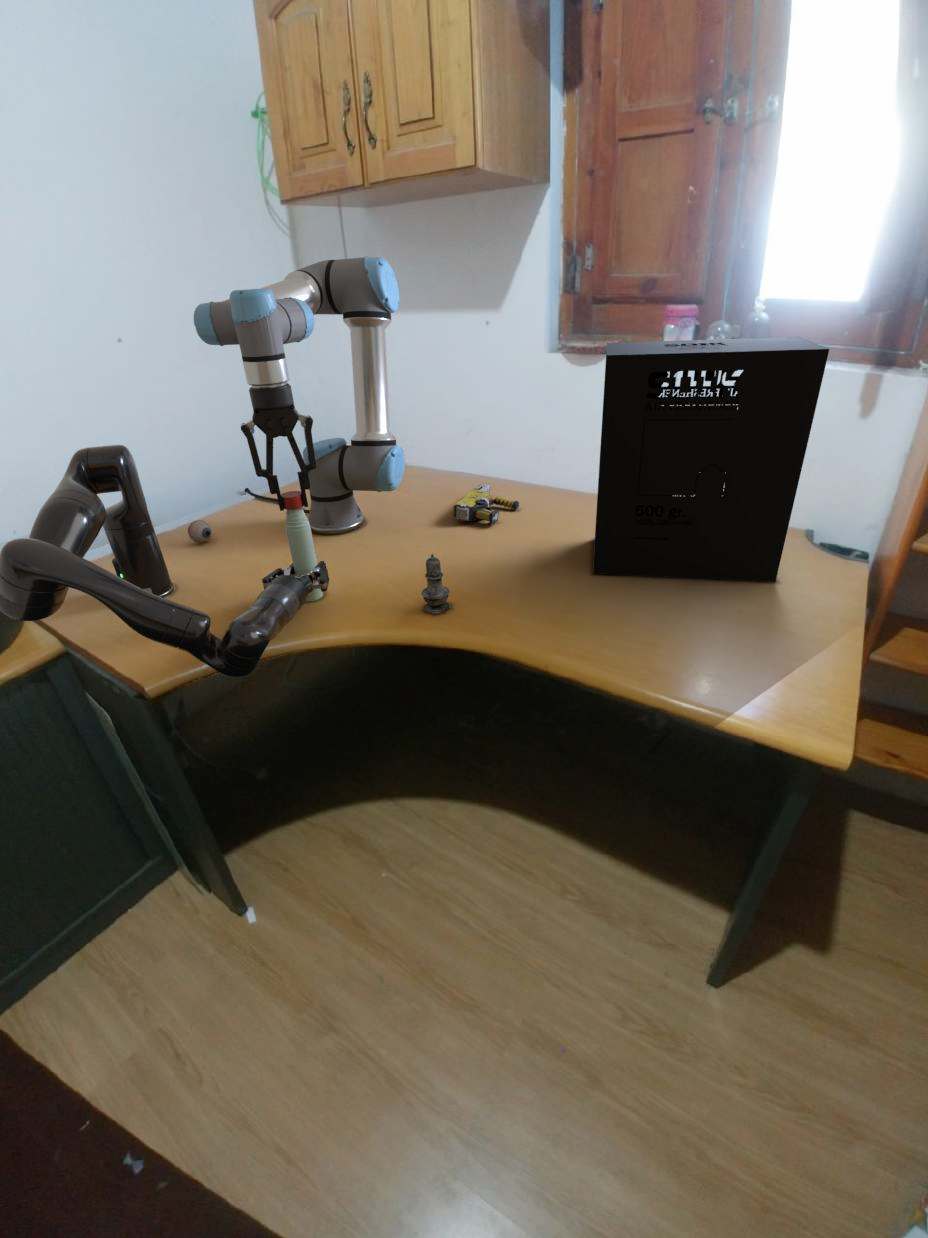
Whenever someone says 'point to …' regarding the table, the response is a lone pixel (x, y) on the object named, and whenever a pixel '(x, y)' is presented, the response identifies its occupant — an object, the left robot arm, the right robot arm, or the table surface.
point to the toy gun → (480, 505)
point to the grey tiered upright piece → (435, 588)
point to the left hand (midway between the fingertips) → (310, 564)
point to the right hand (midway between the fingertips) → (293, 506)
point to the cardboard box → (703, 455)
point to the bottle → (301, 546)
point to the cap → (292, 500)
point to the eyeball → (200, 531)
